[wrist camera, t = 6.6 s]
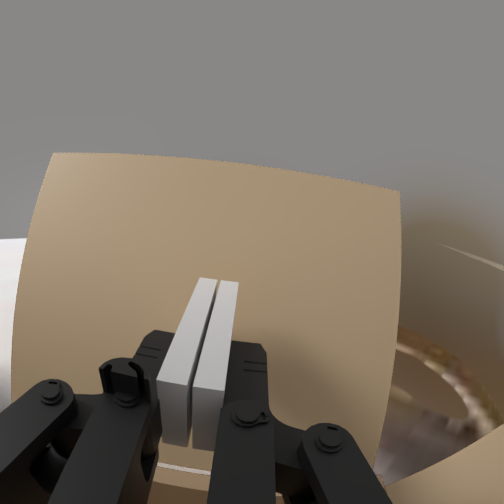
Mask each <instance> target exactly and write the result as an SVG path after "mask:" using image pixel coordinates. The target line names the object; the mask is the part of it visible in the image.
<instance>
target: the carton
mask: <svg viewBox="0 0 504 504" xmlns="http://www.w3.org/2000/svg"><path fill="white" fill-rule="evenodd" d="M376 477H377V478H378V480H379V482H380V483H381V485H382V487H383V488H384V490H385V492H386V493H387V495H388V497H389V498H390V500H391V501H392V503H393V504H504V423H503V424H502V425H501V426H499V427H498V428H496V429H495V430H493V431H492V432H490V433H489V434H487V435H486V436H484V437H482V438H481V439H479V440H478V441H476V442H474V443H473V444H471V445H469V446H468V447H466V448H464V449H463V450H461V451H459V452H457V453H455V454H454V455H452V456H450V457H448V458H446V459H444V460H442V461H440V462H438V463H436V464H434V465H432V466H430V467H428V468H426V469H424V470H422V471H420V472H417V473H415V474H413V475H411V476H408V477H406V478H404V479H401V480H399V481H396V482H394V483H391V484H389V485H386V486H385V485H384V482H383V479H382V476H381V474H380V475H376ZM209 483H210V475H203V474H196V473H190V472H184V471H179V470H173V469H168V468H164V467H159V466H156V470H155V474H154V478H153V482H152V486H151V490H150V493H149V497H148V501H147V504H207V497H208V490H209ZM276 504H285V503H284V500H283V497H282V494H280V493H277V492H276Z"/></svg>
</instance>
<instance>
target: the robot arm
mask: <svg viewBox="0 0 504 504" xmlns="http://www.w3.org/2000/svg"><path fill="white" fill-rule="evenodd" d="M238 285H239V282H232V281H224V280H221V282H220V285H219V289H218V293H217V296H216V291H217V280H216V279H209V278H201V277H200V278H199V280H198V283H197V285H196V287H195V289H194V292H193V294H192V296H191V299H190V301H189V303H188V305H187V308H186V310H185V312H184V315H183V317H182V319H181V322H180V324H179V326H178V329H177V331H176V333H172V332H166V331H160V330H153V331H152V332H150V333H149V334H147V335H146V336H145V337H144V338H143V340H142V342H141V344H140V347H138V349H137V351H136V353H135V355H134V356H133V358H124V357H120V358H114V359H110V360H108V361H106V362H104V363H103V364H102V365H101V366H100V367H99V373H100V378H101V383H102V387H103V393H101V394H74V392H73V390H72V387H71V386H70V385H69V384H68V383H66V382H64V381H62V380H59V379H47V380H42V381H41V382H39V383H37V384H35V385H34V386H33V387H32V388H30V389H29V390H28V391H27V392H26V393H24V394H23V395H22V396H21V397H20V398H18V399H17V400H16V401H15V402H13V403H12V404H11V405H10V406H9V407H7V408H6V409H5V410H4V411H3V412H1V413H0V504H147V501H148V497H149V493H150V490H151V486H152V482H153V478H154V474H155V470H156V466H157V463H158V459H159V448H158V445H159V441H160V438H161V435H162V442H163V443H166V444H171V445H176V446H181V447H187V448H188V443H189V438H190V434H191V429H192V448H193V449H199V450H206V451H213V452H214V455H213V462H212V469H211V476H210V483H209V490H208V497H207V504H276V492H277V493H280V494H282V497H283V500H284V503H285V504H393V503H392V501H391V500H390V498H389V497H388V495H387V493H386V492H385V490H384V488H383V487H382V485H381V483H380V482H379V480H378V478H377V477H376V475H375V473H374V472H373V470H372V468H371V467H370V465H369V463H368V462H367V460H366V458H365V456H364V455H363V453H362V451H361V450H360V448H359V446H358V445H357V443H356V441H355V440H354V438H353V436H352V435H351V434H350V433H349V432H348V431H347V430H346V429H344V428H343V427H341V426H339V425H336V424H332V423H318V424H315V425H312V426H310V427H309V428H308V429H307V430H306V431H305V430H301V429H298V428H294V427H291V426H288V425H286V424H284V423H282V422H280V421H279V420H277V418H276V417H275V416H274V415H273V414H272V412H271V411H270V408H269V397H268V374H267V353H266V351H265V350H264V348H263V347H262V345H261V344H260V343H251V342H242V341H234V340H232V335H233V327H234V318H235V310H236V302H237V293H238Z"/></svg>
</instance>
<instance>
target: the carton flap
mask: <svg viewBox="0 0 504 504" xmlns="http://www.w3.org/2000/svg"><path fill="white" fill-rule="evenodd" d="M200 277H201V278H209V279H216V280H217V291H216V296H217V293H218V289H219V285H220V282H221V280H224V281H232V282H239V285H238V293H237V302H236V310H235V318H234V327H233V335H232V340H234V341H242V342H251V343H260V344H261V345H262V347H263V348H264V350H265V351H266V353H267V374H268V397H269V408H270V411H271V412H272V414H273V415H274V416H275V417H276V418H277V420H279V421H280V422H282V423H284V424H286V425H288V426H291V427H294V428H298V429H301V430H305V431H306V430H307V429H308V428H309V427H310V426H312V425H315V424H318V423H332V424H336V425H339V426H341V427H343V428H344V429H346V430H347V431H348V432H349V433H350V434H351V435H352V436H353V438H354V440H355V441H356V443H357V445H358V446H359V448H360V450H361V451H362V453H363V455H364V456H365V458H366V460H367V462H368V463H369V465H370V467H371V468H372V470H373V466H374V462H375V458H376V454H377V450H378V446H379V442H380V438H381V433H382V429H383V424H384V419H385V414H386V409H387V403H388V398H389V392H390V386H391V379H392V372H393V364H394V357H395V349H396V340H397V330H398V318H399V303H400V282H401V212H400V193H399V191H395V190H391V189H386V188H382V187H377V186H372V185H368V184H363V183H358V182H353V181H348V180H343V179H338V178H332V177H327V176H321V175H315V174H309V173H304V172H298V171H291V170H285V169H278V168H271V167H264V166H257V165H248V164H241V163H233V162H224V161H214V160H204V159H194V158H182V157H170V156H155V155H137V154H113V153H53V155H52V158H51V161H50V163H49V166H48V169H47V172H46V175H45V177H44V181H43V184H42V187H41V190H40V193H39V196H38V199H37V203H36V206H35V210H34V213H33V217H32V221H31V225H30V229H29V233H28V237H27V241H26V246H25V250H24V255H23V260H22V265H21V271H20V277H19V283H18V289H17V296H16V304H15V313H14V323H13V336H12V355H11V396H12V403H13V402H15V401H16V400H17V399H18V398H20V397H21V396H22V395H23V394H24V393H26V392H27V391H28V390H29V389H30V388H32V387H33V386H34V385H35V384H37V383H39V382H41V381H42V380H47V379H59V380H62V381H64V382H66V383H68V384H69V385H70V386H71V387H72V390H73V392H74V394H101V393H103V387H102V383H101V378H100V373H99V367H100V366H101V365H102V364H103V363H104V362H106V361H108V360H110V359H114V358H120V357H124V358H133V356H134V355H135V353H136V351H137V349H138V347H140V344H141V342H142V340H143V338H144V337H145V336H146V335H147V334H149V333H150V332H152V331H153V330H160V331H166V332H172V333H176V331H177V329H178V326H179V324H180V322H181V319H182V317H183V315H184V312H185V310H186V308H187V305H188V303H189V301H190V299H191V296H192V294H193V292H194V289H195V287H196V285H197V283H198V280H199V278H200ZM158 448H159V459H158V462H162V463H166V464H171V465H177V466H182V467H188V468H194V469H200V470H207V471H211V469H212V462H213V455H214V452H213V451H206V450H199V449H193V448H192V429H191V434H190V438H189V443H188V448H187V447H181V446H176V445H171V444H166V443H163V442H162V435H161V438H160V441H159V445H158Z"/></svg>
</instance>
